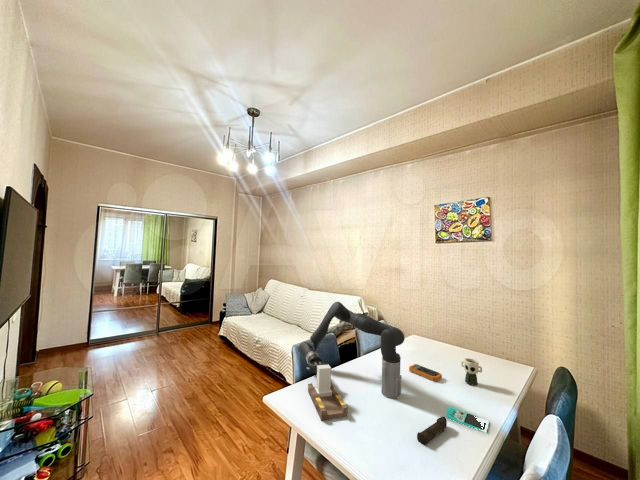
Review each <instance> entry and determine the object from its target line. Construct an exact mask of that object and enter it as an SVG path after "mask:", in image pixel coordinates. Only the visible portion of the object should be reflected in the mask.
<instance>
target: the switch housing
mask: <svg viewBox="0 0 640 480" xmlns="http://www.w3.org/2000/svg"><path fill="white" fill-rule="evenodd" d="M315 387H316V386H314V384H313V383H312V382H311V383H307V392H308V395H309V397H310V400H311V402H312V404H313V406H314V408H315V411H316V412H317V413H316V414H317V415H318V417H319V419H320V420H321V422H324V421H329V420H336V419H343V418H348V414H349V413H348V410H349V409H348V406H347V404H346V402H345V401H344V400H343V399H344V398H342V397H341V395H340V394H339V393H338V391H337V389H336V387H335V386H334V384H332V382H331V386H330V389H331V391H332V396H326V397H319V396H318V394H317V392H316V390H315Z"/></svg>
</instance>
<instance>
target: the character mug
mask: <svg viewBox="0 0 640 480" xmlns="http://www.w3.org/2000/svg"><path fill="white" fill-rule="evenodd" d="M460 363H461V364H460V365H461V367H462V368H464V369H463V370H464V371H465V372H466V373H465V378H464V379H465V380H464V382H465V383H466V384H470V385H471V386H477V385H478V376H477V375H478V374H479V373H482V372H483V367H482V366H481V365H479V361H478V360H477V359H474V358H469V357H467V358H464V360H461V361H460Z"/></svg>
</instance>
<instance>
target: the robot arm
mask: <svg viewBox="0 0 640 480" xmlns="http://www.w3.org/2000/svg"><path fill="white" fill-rule="evenodd" d="M334 318H335V319H337V320H338V321H341V322H344V323H348V324H350V326H352V327H354V328H355V329H357V330H359V331H361V332H363V333H366V334H370V335H375V336H380V353H381V356H382V357H381V360H382V361H381V387H380V388H381V389H380V391H381V394H382V395H383V396H384V397H386V398H389V399H390V398H391V399H399V398H400V396H401V394H402V375H401V358H402V357H401V354H399V353H397V348H396V347H399V346H401V345H402V344H403V343H404V342H405V334H404V332H403V331H402V330H401V329H399V328H398V327H395V326H392V325H389V324H386V323H383V322H381V321H380V320H377V319H375V318H373V317H371V316H368V315H366V314H363V313H360V312H359V313H358V312H357V313H356V312H353V311H351V310H350V309H348V308H347V306H345V305H344V304H343V303H342V302H340V301H335V302H334V303H332V304H331V306H330V307H329V309H328V311H327V312H326V314H325V315H324V317H323V319H322V320H321V322H320V323H319V325H318V326H317V328H316V329H315V330H314V332H313V333H312V334H311V335H310V337H309V339H310V341H311V343H312V345H311V344H310V343H309V342H307V341H303V342H301V343H300V344H299V346H298V351H299V353H300V354H301V355H302V356H303V357H304V359H305V360H306V363H307V365H306V371H308V372H310V373H312V374H313V373H314V374H317V366H318V365H329V366H330V363H328V362H327V363H325V362H323V359H322V358H321V356H319V354H318V353H317V350H318V347H319V345H320V343H322V341H323V340H324V339H325V337H326V336H327V334H328V332H329V327H330V324H331V322H332V321H333V319H334Z"/></svg>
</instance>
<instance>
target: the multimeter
mask: <svg viewBox="0 0 640 480" xmlns="http://www.w3.org/2000/svg"><path fill="white" fill-rule="evenodd" d="M408 370H409V372H410V373H412V374H415V375H418V376H419V377H422V378H424V379H427V380H429V381H432V382H434V383H437V382H440V381H441V380H442V378H443V374H442V373H441V372H438V371H436V370H433V369H430V368H428V367H425V366H422V365H420V364H417V363H414V364H411V365H410V366H408Z"/></svg>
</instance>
